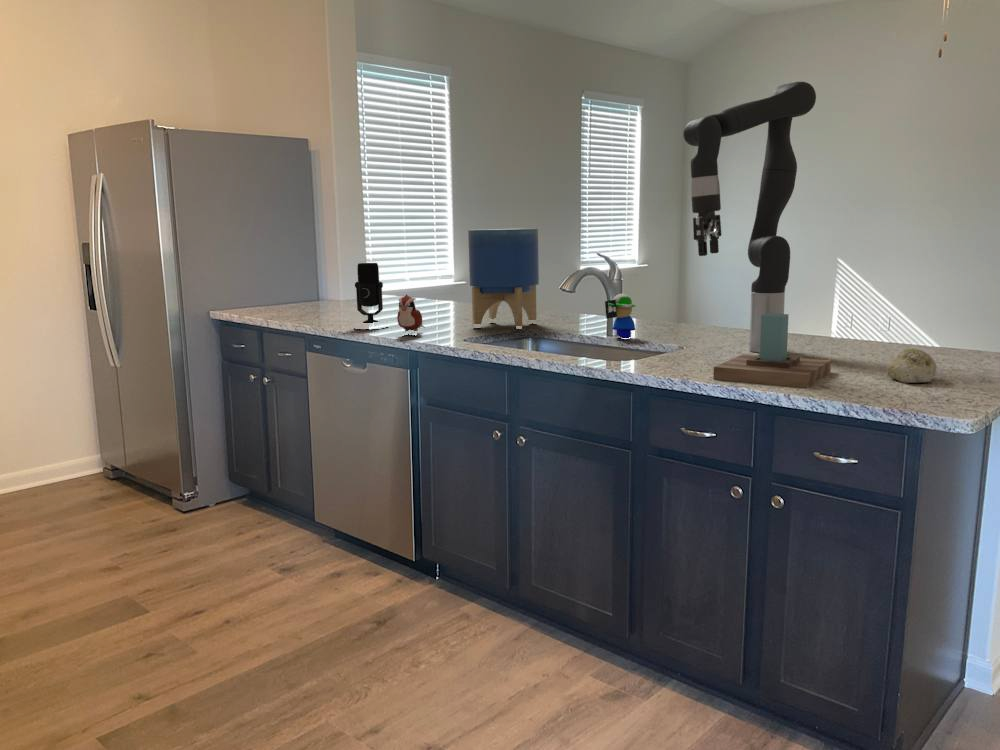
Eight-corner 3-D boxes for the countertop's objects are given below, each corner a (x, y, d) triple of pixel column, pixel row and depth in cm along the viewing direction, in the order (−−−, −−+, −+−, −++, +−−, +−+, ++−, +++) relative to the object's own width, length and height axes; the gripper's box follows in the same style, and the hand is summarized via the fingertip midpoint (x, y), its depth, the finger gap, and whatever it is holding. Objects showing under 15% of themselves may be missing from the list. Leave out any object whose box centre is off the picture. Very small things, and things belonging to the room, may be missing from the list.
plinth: (742, 365, 213) (743, 349, 213) (830, 372, 201) (831, 355, 200) (713, 379, 196) (713, 362, 195) (807, 387, 183) (808, 369, 183)
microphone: (347, 329, 310) (343, 264, 305) (363, 325, 322) (359, 262, 318) (379, 330, 306) (376, 263, 301) (394, 326, 318) (391, 262, 314)
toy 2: (603, 338, 270) (603, 293, 268) (627, 336, 273) (627, 292, 271) (616, 341, 262) (616, 295, 259) (640, 339, 265) (641, 294, 263)
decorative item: (886, 357, 197) (930, 342, 192) (900, 391, 196) (944, 377, 190) (876, 358, 188) (921, 342, 182) (890, 393, 186) (936, 379, 180)
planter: (460, 325, 315) (457, 230, 308) (520, 321, 326) (518, 228, 319) (488, 332, 292) (485, 229, 285) (551, 327, 302) (550, 228, 296)
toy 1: (392, 338, 282) (390, 295, 279) (408, 332, 298) (406, 291, 295) (415, 338, 280) (414, 295, 277) (430, 332, 296) (429, 291, 293)
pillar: (766, 361, 201) (767, 313, 199) (786, 362, 198) (788, 314, 196) (759, 364, 197) (761, 315, 195) (780, 365, 194) (782, 316, 192)
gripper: (709, 193, 210) (712, 255, 213) (728, 192, 222) (731, 251, 225) (682, 196, 215) (685, 257, 218) (702, 195, 226) (705, 253, 229)
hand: (708, 254), depth 221 cm, fingers open, 8 cm apart
